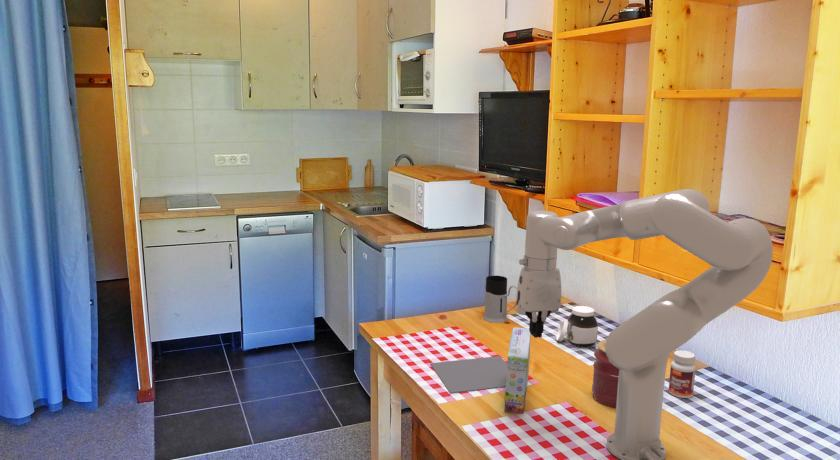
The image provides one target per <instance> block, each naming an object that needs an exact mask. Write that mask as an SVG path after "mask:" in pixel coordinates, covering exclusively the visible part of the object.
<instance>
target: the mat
mask: <svg viewBox="0 0 840 460" xmlns="http://www.w3.org/2000/svg"><path fill="white" fill-rule="evenodd" d="M429 364H430V366H431V368H432V369H433V371H435V373H436V374H437V376H438V378H439V379H440V380H441V382H442V384H443V386H445V388H446V389H447V391H448V392H449V394H458V393H466V392H474V391H475V392H476V391H485V390H493V389H494V390H495V389H502V388H506V375H507V362H506V361H505V360H504V359H503V358H502V357H501V356H500V355H499V356H498V355H497V356H488V357H475V358H466V359H459V360H458V359H457V360H450V361H438V362H437V361H436V362H431V363H429Z"/></svg>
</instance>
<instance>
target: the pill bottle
mask: <svg viewBox="0 0 840 460" xmlns="http://www.w3.org/2000/svg"><path fill="white" fill-rule="evenodd" d="M695 359H696V355H695V353H693V352H691V351H689V350H676V351H675V350H674V352H673V360H672V361H671V363H670V372H669V380H668V381H669V382H668V392H669V394H670V395H672V396H673V397H677V398H681V399H690V398H692V396H694V388H695V387H694V386H695V380H696V379H695V378H696V370H697V369H696V368H697V367H696V364H695Z"/></svg>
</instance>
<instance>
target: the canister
mask: <svg viewBox="0 0 840 460" xmlns="http://www.w3.org/2000/svg"><path fill="white" fill-rule="evenodd" d="M606 340H607V338H605V339H604V340H601V341H599V342H598V344H597V347H598V348H597V349H596V350H594V352H593V356H594V357H595V361H594V363H593V376H592V377H593V378H592V384H591V385H592V386H591V392H592V397H593V399H595V401H597V402H598V403H600V404H603V405H604V406H608V407H612V408H616V404H617V390H618V378H619V368H617V367H615V366H614V365H613V364H612V363H611V362H610V361H609V359H608V357H607V355H606V351H605V344H606Z"/></svg>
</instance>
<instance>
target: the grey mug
mask: <svg viewBox="0 0 840 460" xmlns="http://www.w3.org/2000/svg"><path fill="white" fill-rule="evenodd" d="M517 287H518V286H517V285H516V286H515V285H511V286H509V288H508V278H507V277H506V276H503V275H502V276H501V275H489V276H488V275H487V276H486V277H485V287H484V292H485V293H484V315H483V319H482V320H484V321H486V322H488V323H494V324H495V323H497V324H499V323H505V322H507V321H508V316H507V314H508V313H509V312H510V311H512V310H513V309H514V308H517V303H516V302H515V303H514V305H513V307H511V308H509V310H507V309H508V297H509V296H510V294H511V293H510V292H511V289H512V288H515V289H516V290H517Z"/></svg>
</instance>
